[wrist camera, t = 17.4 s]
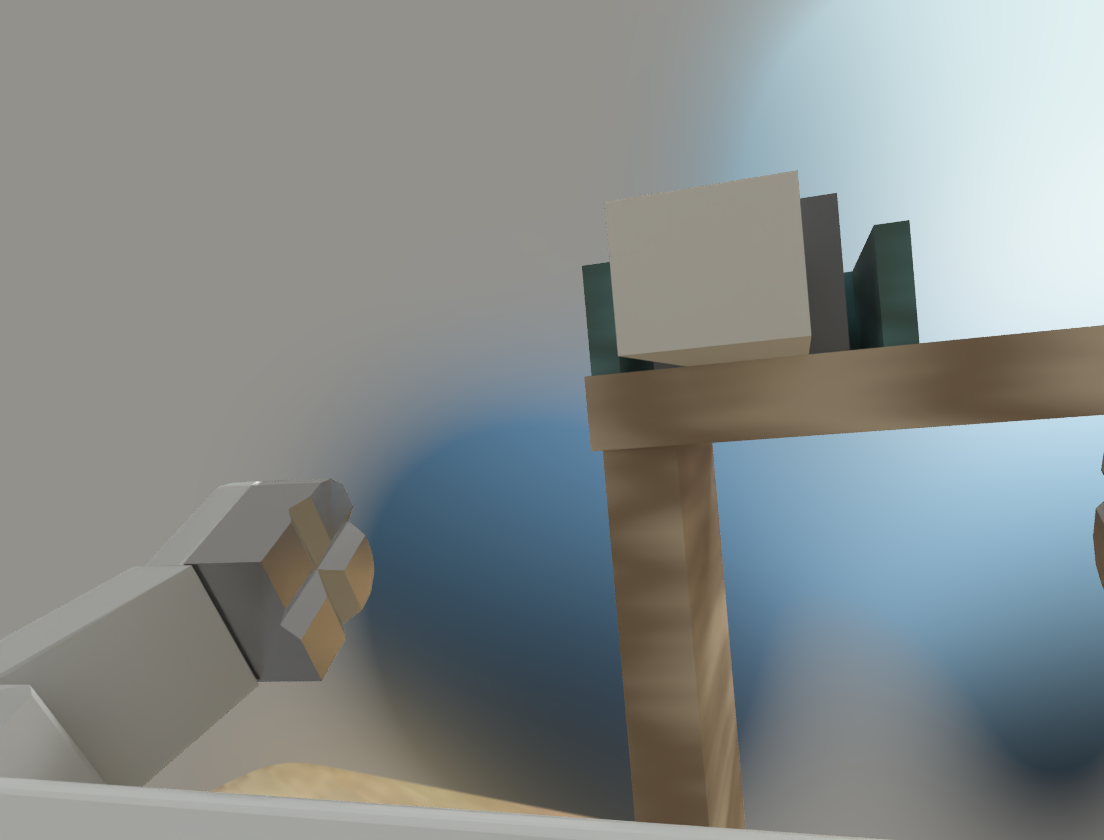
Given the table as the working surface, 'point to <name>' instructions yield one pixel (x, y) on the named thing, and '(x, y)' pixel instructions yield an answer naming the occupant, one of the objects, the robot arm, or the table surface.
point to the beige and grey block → (727, 273)
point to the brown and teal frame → (762, 413)
